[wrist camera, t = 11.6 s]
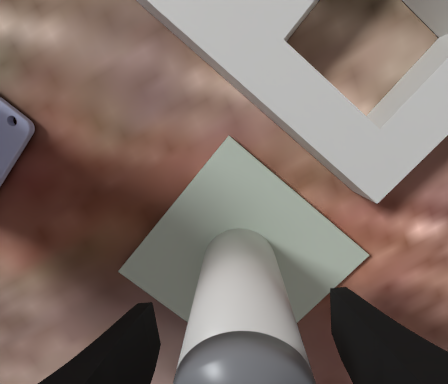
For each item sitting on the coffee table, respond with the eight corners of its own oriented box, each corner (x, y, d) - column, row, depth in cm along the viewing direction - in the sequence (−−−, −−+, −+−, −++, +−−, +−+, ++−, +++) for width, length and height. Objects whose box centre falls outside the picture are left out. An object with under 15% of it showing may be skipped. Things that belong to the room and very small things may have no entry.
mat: (121, 267, 16) (118, 271, 15) (228, 135, 14) (228, 135, 13) (248, 360, 17) (249, 367, 17) (365, 251, 15) (369, 255, 15)
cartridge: (196, 235, 15) (147, 370, 6) (269, 222, 14) (315, 348, 6) (212, 298, 16) (185, 490, 7) (280, 287, 15) (335, 476, 7)
